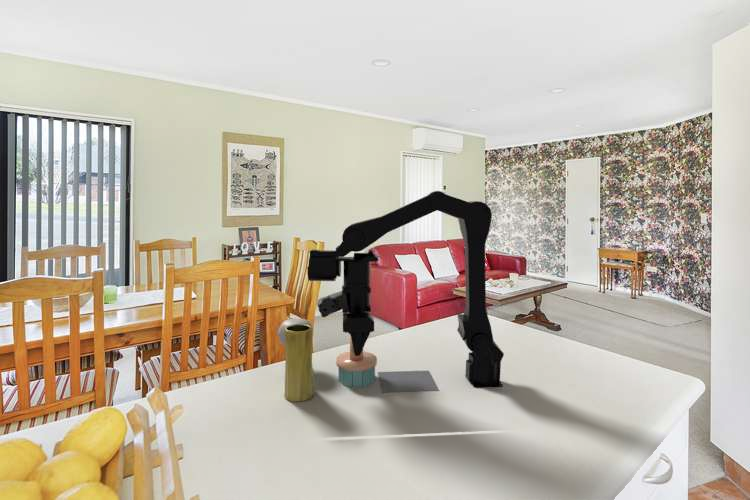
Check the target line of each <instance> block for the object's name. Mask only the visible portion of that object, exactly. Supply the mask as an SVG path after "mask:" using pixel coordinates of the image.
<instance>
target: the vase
mask: <svg viewBox="0 0 750 500" xmlns="http://www.w3.org/2000/svg"><path fill="white" fill-rule="evenodd" d="M312 328H313V327H312ZM312 328H311V326H309V325H306V324H294V325H290V326H287V327H286V328H285V336H286V339H285V346H284V347H285V350H284V352H285V353H284V354H285V369H284V371H285V372H284V394H283V395H284V398H285V400H287V401H291V402H295V403H296V402H305V401H308V400H310V399H312V398H313V397H314V395H315V384H314V382H315V381H314V369H313V345H312V344H313V341H312V340H313V335H312Z"/></svg>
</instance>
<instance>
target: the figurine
mask: <svg viewBox="0 0 750 500" xmlns="http://www.w3.org/2000/svg"><path fill="white" fill-rule="evenodd" d="M294 324H306V325H309V326H311V328H312V336H313V333H314V332H313V331H314V329H313V326H312V324H311V322H310V320H308V319H305V318H297V317H296V318H288V319H286V320H284V321H283V322H282V323H281V324H280V325H279V328H278V331H277V337H278V341H279V343H280V344H281V345H282V346H284V347H285V339H286V336H285V328H286V327H287V326H290V325H294Z"/></svg>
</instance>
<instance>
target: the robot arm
mask: <svg viewBox="0 0 750 500" xmlns="http://www.w3.org/2000/svg"><path fill="white" fill-rule="evenodd" d="M436 211H438V212H441V213H444V214H445V215H448V216H451V217H454V218H456V219H457V220H458V224H459V229H460V233H461V236H462V240H463V243H464V271H465V274H464V276H465V277H464V280H465V307H464V311H463V313H457V320H458V321H457V322H458V327H457V330H456V331H457V333H458V334H459V336H460V338H461V340H462V341H463V342H464V344H465V345H466V347H467V349H468V350H470V352H468V358H467V359H466V361H465V375H464V377H465V378H466V380H467V381H468V382H469V384H471V385H472V387H473V388H475V389H481V388H504V384H503V383H502V382H501V362H502V360H503V358H504V355H505V354H504V352H503V351H502V350H501V348H500V347H499V346H498V345H497V343H496V342H495V340H494V337H493V332H492V326H491V322H490V319H489V316H488V313H487V307H486V306H487V305H486V304H487V302H486V301H487V300H486V299H487V298H486V297H487V294H486V293H487V292H486V284H487V283H486V243H487V239H488V236H489V233H490V229H491V224H492V217H493V216H492V214H493V213H492V210H491V208H490V206H488V204H486V202H483V201H478V200H477V201H475V200H472V201H471V200H470V201H466V200H465V199H461V198H459V197H458V198H457V197H454V196H451V195H448V194H446V193H444V192H443V191H440V190H435V191H431V192H430V193H428V194H427V195H425V196H423V197H421V198H418V199H417V200H414V201H412V202H410V203H408V204H406V205H404V206H401V207H399V208H397V209H395V210H393V211H390V212H388V213H386V214H383V215H382V216H378V217H374V218H369V219H365V220H362V221H358V222H355V223H354V222H353V223H351V224H350V225H348V226H347V227H345V229H344V230H343V233H342V237H341V238H342V242H340V244H339V245H337V246H336V247H335V250H329V249H328V250H321V249H317V248H316V249H314V248H312V249H311V250H309V257H308V265H307V268H306V269H307V273H306V274H307V279H308V281H309V282H336V280H337V277H338V278H339V277H341V275H342V262H343V285H341V286H342V287H341V291H338V292H334V293H331V294H328V295H326V296H323V297H321V298H318V300H316V301H317V303H316V305H317V308H318V312H319V314H320V315H321V318H326V317H328V316H329V315H332V314H334V313H337V312H340V311H341V312H342V332H343V333H346V334H347V333H348V334H349V336H350V338H351V340H352V344H353V349H354V354H355V356H360V354H361V352H362V350H363V351H364V348H365V344H366V342H367V340H368V338H369V336H370V335H371V333H374V331H375V321H374V317H373V316H372V315H371V314H370V313H371V312H372V311H371V310H372V309H371V308H372V307H371V293H372V292H371V291H372V290H371V289H372V288H371V287H372V286H371V262H379V256H378V255H377V254H376V253H374V251H373V249H372V248H371V249H369V251H367V252H361V251H363V250H365V249H366V248H368V247H369V246H371V245H372V244H374V243H375V242H376V241H378V240H380V239H381V238H382V237H384V236H385V235H386V234H388V233H390V232H393V231H394V230H396V229H398V228H399V229H400V228H401V227H403V226H405V225H408V224H409V223H412V222H414V221H416V220H419V219H421V218H422V217H425V216H427V215H430V214H432V213H434V212H436ZM351 252H354V254H353V256H347V255H349V254H350V253H351Z"/></svg>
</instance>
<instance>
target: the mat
mask: <svg viewBox="0 0 750 500" xmlns="http://www.w3.org/2000/svg"><path fill="white" fill-rule="evenodd" d="M377 374H378V375H377V376H378V379H379V384H380V388H381V389H380V390H381V393H383V394H386V393H387V394H388V393H390V394H391V393H411V392H414V393H415V392H439V391H440V390H439V387H438V385H437V384H436V381H435V379H434V378H433V376H432V374H431V372H430V370H402V371H377Z"/></svg>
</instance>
